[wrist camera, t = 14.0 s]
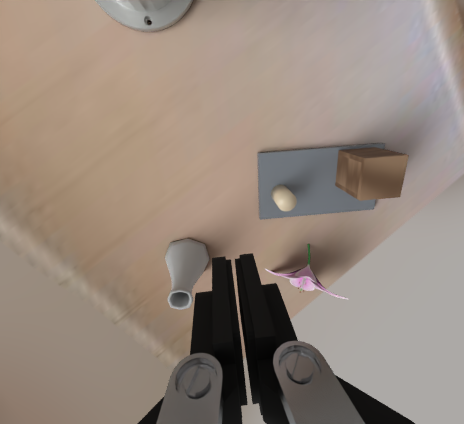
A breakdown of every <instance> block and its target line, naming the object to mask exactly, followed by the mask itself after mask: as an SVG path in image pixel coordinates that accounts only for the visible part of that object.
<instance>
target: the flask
mask: <svg viewBox="0 0 464 424" xmlns="http://www.w3.org/2000/svg"><path fill="white" fill-rule="evenodd" d="M209 259H210V258H209V255H208V252H207V249H206V246H205V244H203V243H200V242H197V241H194V240H191V239H188V238H187V239H183V240H179V241H175V242H171V243H170V245H169V248H168V250H167V253H166V255H165V260H166V263H167V266H168V269H169V272H170V276H171V280H172V290H171V292H170V294H169V297H168V302H169V304H170V307H172V308H175V309H179V310H181V309H185V308H189V307H190V306H191V303H192V301H193V297H192V294H191V293H192V288H193V286H194V284H195V283H196V282H197V280H198V279H199V278H200V276H201V275H202V274H203V272H204V270H205V268H206V266H207V263H208V261H209Z"/></svg>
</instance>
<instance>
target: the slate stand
mask: <svg viewBox="0 0 464 424" xmlns="http://www.w3.org/2000/svg"><path fill="white" fill-rule="evenodd" d="M371 147H376V148H380V149H384V147H385V144H384V143H374V144H362V145H349V146H336V147H323V148H311V149H298V150H285V151H273V152H260V153H258V189H259V218H260V219H271V218H282V217H293V216H304V215H315V214H327V213H338V212H349V211H360V210H371V209H374V206H375V201H376V199H373V200H362V201H359V200H358V199H356V198H354V197H353V196H351V195H349V194H348V193H346V192H345V191H343V190H341V189H340V188H338V187H336V186H335V182H336V172H337V162H338V151H339V150H346V149H359V148H371Z"/></svg>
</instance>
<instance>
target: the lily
mask: <svg viewBox="0 0 464 424" xmlns="http://www.w3.org/2000/svg"><path fill="white" fill-rule="evenodd" d="M264 269H265V268H264ZM265 270H267V269H265ZM267 271H268V272H270V273H272V274H274V275H277V276H282V277H285V278H289V279H290V283H291V284H292V285H294V286H296V287H298V289H299V288H301V290H302V289H303V292H304V290H308V291H312V290H314V289H315V288H316V289H319V290H321V291H324V292H327V293H328V294H330V295H332V296H335V297H338V298H343V299H348V298H345V297H342V296H338V295H335V294H333V293H331V292H329V291H327V290H326V289H325V288H324V287H323V286H322V285H321V283H320V282H319V281H318V279H317V278H316V276H315V275H314V273H313V272H312V271H311V269H310V246H309V244H308V265H307V266H306V267H305V268H302V269H300V270H297V271H294V272H291V273H287V274H279V273H275V272H272V271H270V270H267ZM301 290H300V292H301Z"/></svg>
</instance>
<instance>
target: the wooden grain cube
mask: <svg viewBox="0 0 464 424" xmlns="http://www.w3.org/2000/svg"><path fill="white" fill-rule="evenodd" d="M408 156H409V155H407V154H402V153H398V152H393V151H389V150H385V149H380V148H376V147H371V148H359V149H346V150H339V151H338V162H337V172H336V182H335V186H336V187H338V188H340V189H341V190H343V191H345V192H346V193H348V194H349V195H351V196H353V197H354V198H356V199H358V200H359V201H362V200H373V199H384V198H395V197H400V195H401V190H402V185H403V180H404V175H405V171H406V166H407V161H408Z"/></svg>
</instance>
